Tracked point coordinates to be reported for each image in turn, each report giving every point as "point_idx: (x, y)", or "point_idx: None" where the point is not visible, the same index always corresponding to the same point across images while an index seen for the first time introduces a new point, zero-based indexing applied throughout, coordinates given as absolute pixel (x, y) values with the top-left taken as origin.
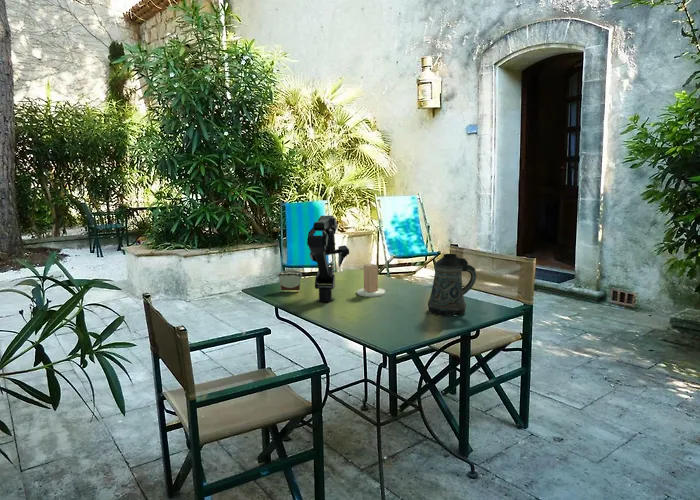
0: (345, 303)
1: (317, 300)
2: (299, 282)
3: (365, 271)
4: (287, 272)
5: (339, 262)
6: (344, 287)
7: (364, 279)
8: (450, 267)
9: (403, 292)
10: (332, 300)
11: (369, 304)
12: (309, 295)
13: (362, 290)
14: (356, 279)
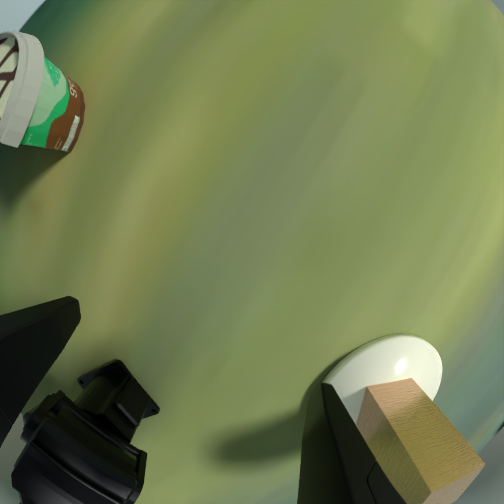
0: (182, 459)
1: (81, 384)
2: (36, 142)
3: (405, 476)
4: (2, 41)
5: (309, 463)
6: (367, 198)
7: (389, 432)
8: None
9: (454, 417)
10: (144, 416)
11: (254, 494)
12: (81, 253)
13: (365, 379)
14: (481, 98)
